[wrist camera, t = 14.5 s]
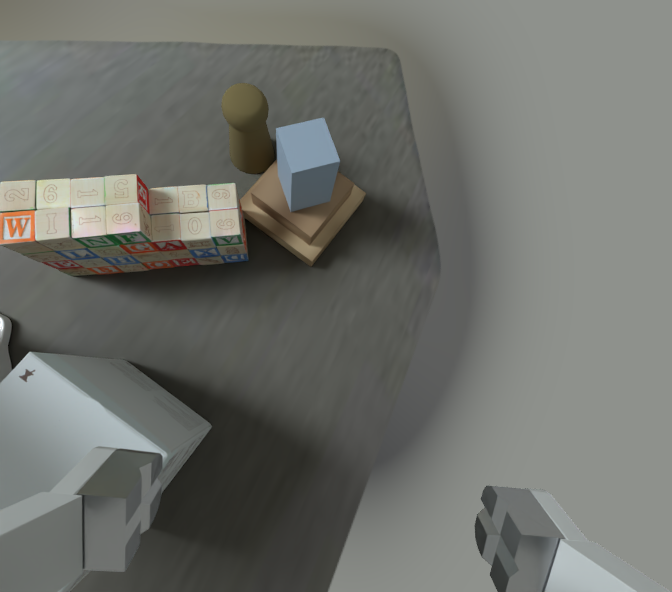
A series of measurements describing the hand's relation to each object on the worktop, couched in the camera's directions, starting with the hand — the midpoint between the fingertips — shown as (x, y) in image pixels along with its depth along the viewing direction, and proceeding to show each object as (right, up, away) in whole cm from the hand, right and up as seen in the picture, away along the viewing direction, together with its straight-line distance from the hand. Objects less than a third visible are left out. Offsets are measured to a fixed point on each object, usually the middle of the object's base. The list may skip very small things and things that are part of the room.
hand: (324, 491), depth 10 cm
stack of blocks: (-22, +11, +39) cm, 46 cm away
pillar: (-4, +18, +37) cm, 41 cm away
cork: (-11, +24, +43) cm, 51 cm away
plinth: (-4, +17, +42) cm, 46 cm away
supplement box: (-23, -11, +34) cm, 43 cm away
